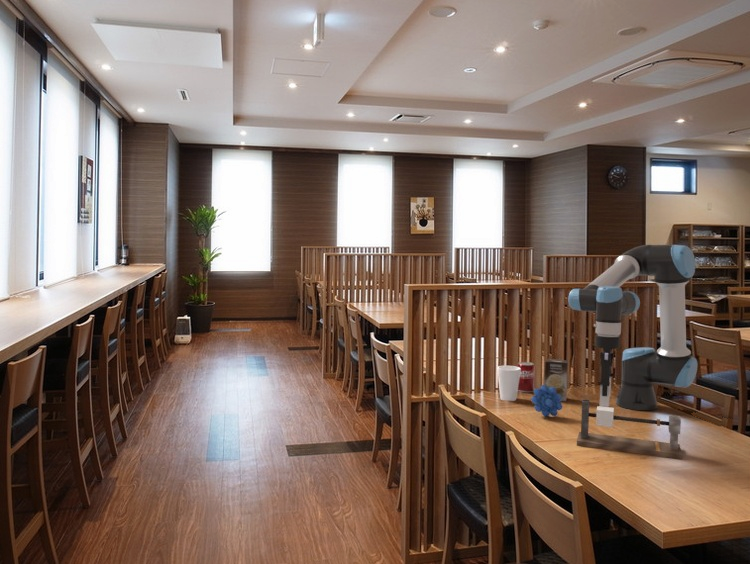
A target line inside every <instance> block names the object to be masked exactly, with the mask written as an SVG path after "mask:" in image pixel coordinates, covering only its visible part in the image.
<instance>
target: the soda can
mask: <svg viewBox="0 0 750 564" xmlns="http://www.w3.org/2000/svg"><path fill="white" fill-rule="evenodd" d="M516 367H519V368H521V374H520V378H519V385H518V391H517V392H521V393H534V389H535V364H534V363H533V362H530V361H529V362H526V361H520V362H519V361H518V363H517V366H516Z"/></svg>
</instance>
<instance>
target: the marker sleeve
mask: <svg viewBox="0 0 750 564" xmlns="http://www.w3.org/2000/svg"><path fill="white" fill-rule="evenodd" d="M614 412H615V408H614V407H611V406H609V407H606V406H600V405H599V406H598V405H597V407H596V413H595V414H596V417H595V420H596V421H595V426H598V427H605V428H606V427H608V428H614V421H615V420H614V419H613V416H615V414H614Z"/></svg>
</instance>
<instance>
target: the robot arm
mask: <svg viewBox="0 0 750 564" xmlns="http://www.w3.org/2000/svg"><path fill="white" fill-rule="evenodd" d="M695 272H696V259H695V254H694V253H693V250H692V249H691V248H690V247H688V246H687V245H681V244H643V245H639V246H635V247H633V248H631V249H629V250H627V251H625V252H623V253H622V254H620V255H619V256H618V257H616V259H615V260H614V263H613V264H612V265H611V266H610V267H608V268H607V269H606V270H604V272H603V273H601V274H600V275H599V276H597V277H596V278H594V280H592V281H591V282H590V283H589V284H588V285H586V286H585V287H584V288H580V287H579V288H573V289H571V290H570V292H569V294H568V300H567V301H568V306H569V307H570V309H572V310H575V311H579V312H591V313H595V323H594V324H593V327H594V328H595V334H596V335H595V336H594V346H595V347H596V348H599V349H602V351H600V354H599V359H600V367H601V371H600V372H601V374H600V381H598V382H597V386H600V387H599V406H601V407H610V398H611V388H612V387H611V385H612V384H611V383H612V377H614V373H612V367H613V363H614V362H613V361H614V354H615V353H614V352H612V351H613V350H617V349H620V347H621V337H620V336H621V334H622V316H624V315H627V316H628V315H631V314H634V313H636V311H638V310H639V308H640V304H641V301H640V298H639V296H638V295H637V294H636V293H634V292H633V291H629V290H627V291H626V290H624V291H623V289H622V287H621V286H623V284H625V283H626V282H627V281H629V280H632V279H635V278H636V277H637V276H651V277H653V278H654V279H653V280H654V283H655V284H656V285H657V286H658V293H659V295H658V297H659V324H660V325H659V326H660V330H659V331H660V347H659V348H658V349H657V350H655V347H654V348H653V347H630V348H626V349H624V350H623V352H622V357H621V358H622V359H621V385H620V388H619V390H618V393H617V395H616V398H615V404H616V405H617V406H619V407H620V408H621V407H622V408H625V409H629V410H635V411H654V410H657V409H658V400H657V398H656V397H657V396H656V393H655V389H654V384H659V385H660V384H661V385H666V386H670V387H675V388H685V389H686V388H689V387H690V386H692V384H693V382H695V378H696V377H697V372H698V365H699V364H698V360H697V358H696V357H694V356H693V357H692V351H691V350H690V349H689V348H688V347H687V328H686V327H687V326H686V325H687V324H686V321H687V320H686V285H687V284H688V283H689V282H690V278H692V277H693V276H695Z"/></svg>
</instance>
